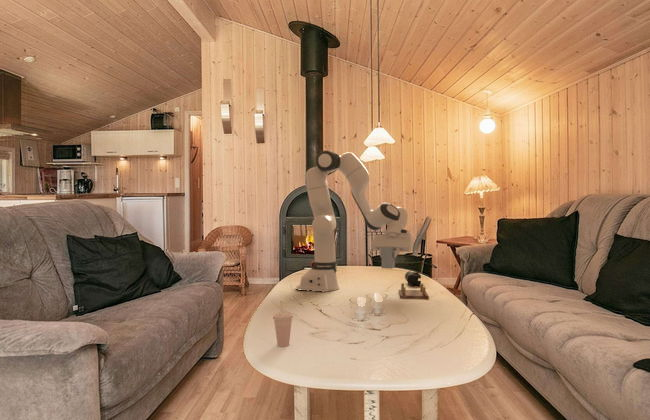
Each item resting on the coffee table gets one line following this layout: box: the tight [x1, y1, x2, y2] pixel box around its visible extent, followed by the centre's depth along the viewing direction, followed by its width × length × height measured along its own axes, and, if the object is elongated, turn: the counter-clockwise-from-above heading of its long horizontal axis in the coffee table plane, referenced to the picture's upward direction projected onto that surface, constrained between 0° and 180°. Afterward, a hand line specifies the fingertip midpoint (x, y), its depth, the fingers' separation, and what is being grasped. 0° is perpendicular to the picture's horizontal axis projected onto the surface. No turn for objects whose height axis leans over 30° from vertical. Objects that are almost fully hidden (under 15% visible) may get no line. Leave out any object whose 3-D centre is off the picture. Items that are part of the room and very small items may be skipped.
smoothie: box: [272, 300, 294, 348], centre depth 135 cm, size 6×6×14 cm
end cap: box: [404, 270, 422, 288], centre depth 227 cm, size 10×7×7 cm
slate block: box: [380, 247, 396, 270], centre depth 204 cm, size 5×5×10 cm
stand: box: [398, 282, 430, 300], centre depth 202 cm, size 13×13×5 cm
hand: (387, 256), depth 203 cm, fingers closed on slate block, 5 cm apart
